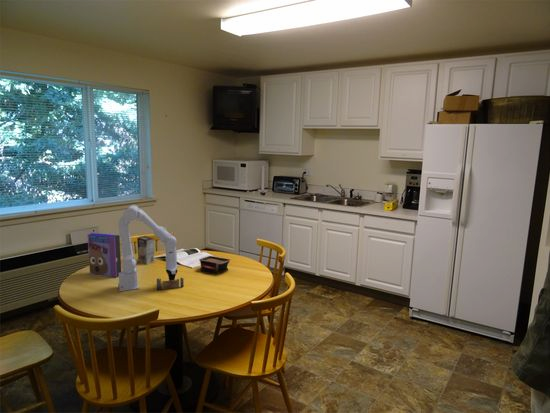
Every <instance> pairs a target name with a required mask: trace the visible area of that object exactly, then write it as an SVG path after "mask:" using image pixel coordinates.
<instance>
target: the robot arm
mask: <svg viewBox="0 0 550 413" xmlns="http://www.w3.org/2000/svg"><path fill="white" fill-rule="evenodd" d="M135 219H136V221H139V222H143V223H144V224H146V225H147V227H149V229H151V230H152V231H153V235H154V236H156V238H158V240H160V241H161V242H162V243H164V246H165V271H166V273H167V274H166V275H167V276H168V281H170V280H176V275H177V273H178V268H180V265H179V264H178V258H177V254H178V253H177V238H176V237H175V236H174V235H173V234H172V233H170V232H168V230H167V228H166V226H165V227H163V226H162V225H161V226H159V225H157V223H156V222H155V221H154V220H153V219H152V218H151V217H150V216H149V215H148V214H147V212H145V211H144V210H143V209H142V208H140V207H139V206H138V205H136V204H131V205H129V206H128V207H127V208H126V209H125V210H124V211H123V212H122V213H121V216H120V217H119V219H118V221H117V225H118V232H119V235H120V247H121V250H122V251H121V252H122V264H121V272H120V273H119V277H118V285H117V286H118V287H119V292H124V291H131V290H132V291H134V290H138V289H140V286H139V283H138V269H137V268H136V265H137V263H138V260H137V259H136V257H135V254H134V253H133V246H132V238H131V233H130V227H129V224H131V222H132V221H134V220H135Z"/></svg>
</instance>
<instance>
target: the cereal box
mask: <svg viewBox="0 0 550 413" xmlns="http://www.w3.org/2000/svg"><path fill="white" fill-rule="evenodd" d="M86 237H87V245H88V246H87V249H88V250H87V251H88V263H89V264H88V265H89V275H90V274H91V275H92V276H97V275H98V276H99V277H105V276H106V277H107V278H115V279H116V278H119V273H120V272H122V260H121V259H122V257H121V239H120V234H111V233H110V234H108V233H100V232H99V233H98V232H91V233H89V234H87V236H86ZM91 275H90V276H91Z"/></svg>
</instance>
